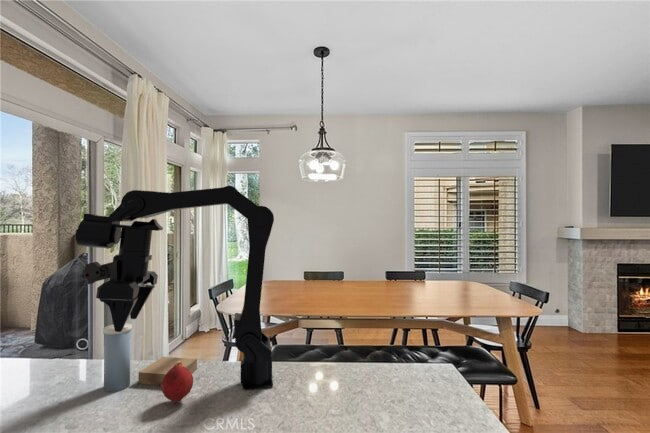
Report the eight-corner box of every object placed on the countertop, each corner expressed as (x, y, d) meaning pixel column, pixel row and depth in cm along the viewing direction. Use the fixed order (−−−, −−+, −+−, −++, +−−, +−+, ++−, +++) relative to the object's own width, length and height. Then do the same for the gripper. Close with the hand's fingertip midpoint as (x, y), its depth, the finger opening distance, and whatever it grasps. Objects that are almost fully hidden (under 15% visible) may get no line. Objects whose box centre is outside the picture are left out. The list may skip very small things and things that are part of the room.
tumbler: (134, 379, 79) (134, 322, 80) (126, 391, 74) (127, 329, 74) (107, 382, 78) (108, 324, 78) (98, 393, 73) (99, 331, 73)
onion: (181, 411, 66) (181, 369, 66) (154, 408, 67) (155, 366, 68) (198, 396, 72) (198, 357, 72) (173, 393, 73) (174, 355, 73)
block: (196, 369, 85) (196, 359, 85) (175, 386, 76) (175, 374, 76) (162, 366, 87) (163, 356, 87) (138, 383, 78) (138, 372, 78)
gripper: (109, 244, 81) (102, 311, 80) (69, 251, 63) (58, 338, 62) (161, 248, 83) (154, 313, 83) (136, 255, 65) (127, 340, 64)
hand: (126, 324), depth 73 cm, fingers open, 9 cm apart
